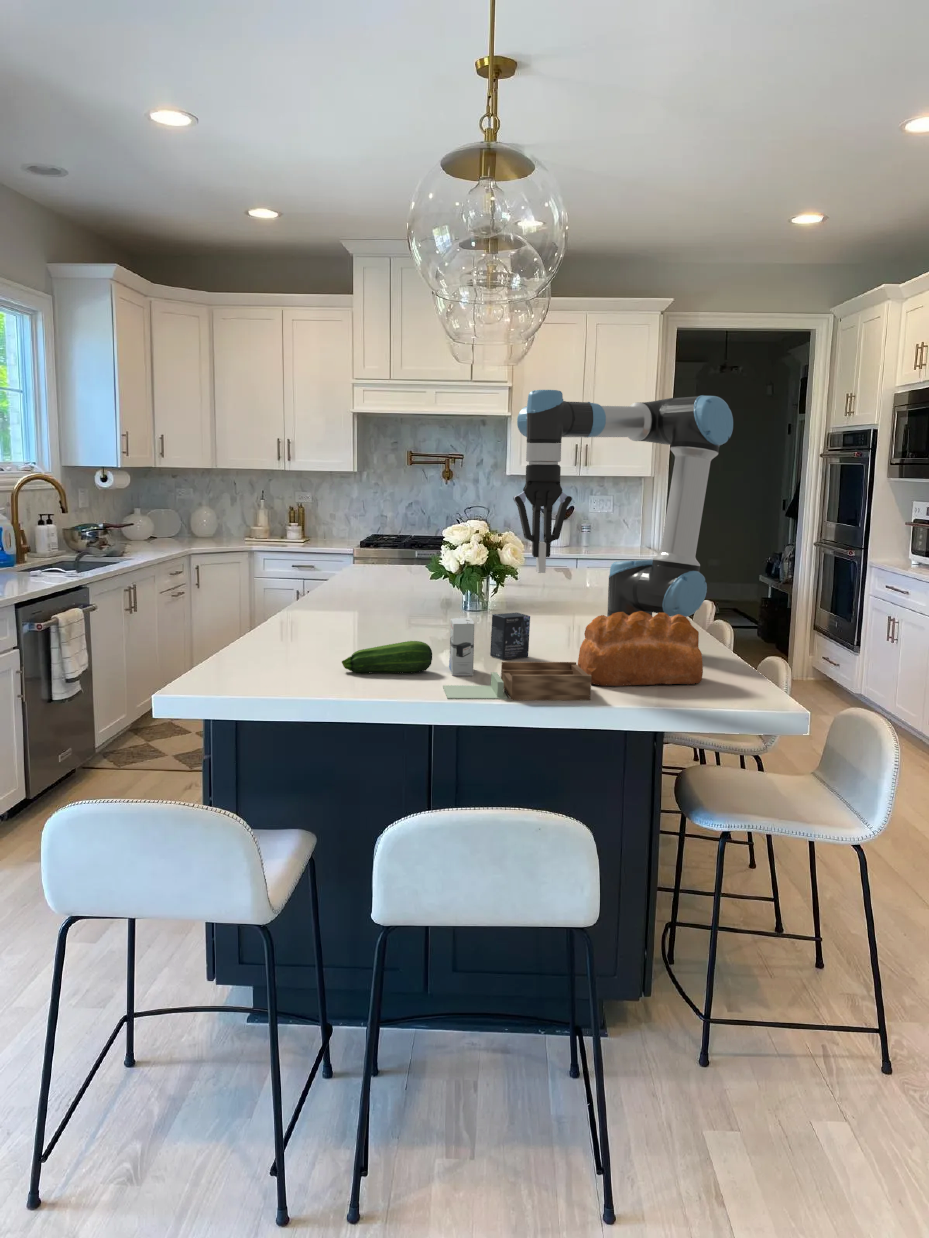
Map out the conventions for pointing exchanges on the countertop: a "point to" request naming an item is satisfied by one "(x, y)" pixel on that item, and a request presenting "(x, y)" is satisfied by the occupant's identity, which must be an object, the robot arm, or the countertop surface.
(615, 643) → the bread
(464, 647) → the ink box
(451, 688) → the lid
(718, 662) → the countertop surface
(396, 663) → the vegetable
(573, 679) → the pencil box
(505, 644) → the box
